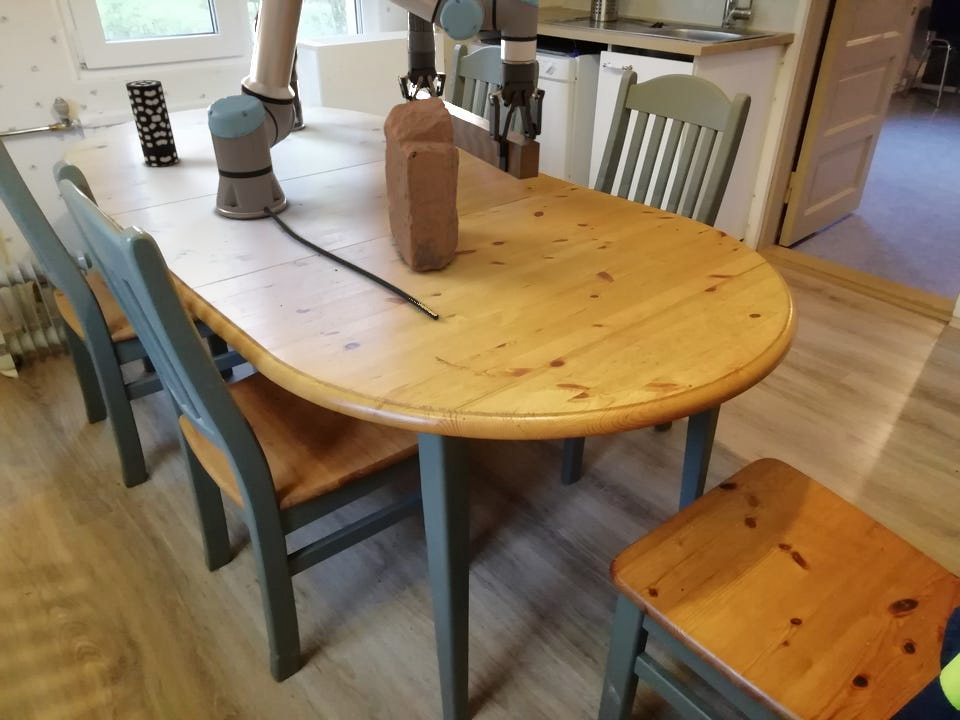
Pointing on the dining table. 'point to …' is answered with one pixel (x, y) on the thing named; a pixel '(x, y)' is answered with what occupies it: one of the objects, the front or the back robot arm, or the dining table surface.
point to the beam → (492, 142)
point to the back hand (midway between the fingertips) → (423, 113)
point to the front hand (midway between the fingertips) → (514, 168)
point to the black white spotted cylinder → (152, 122)
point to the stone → (422, 182)
